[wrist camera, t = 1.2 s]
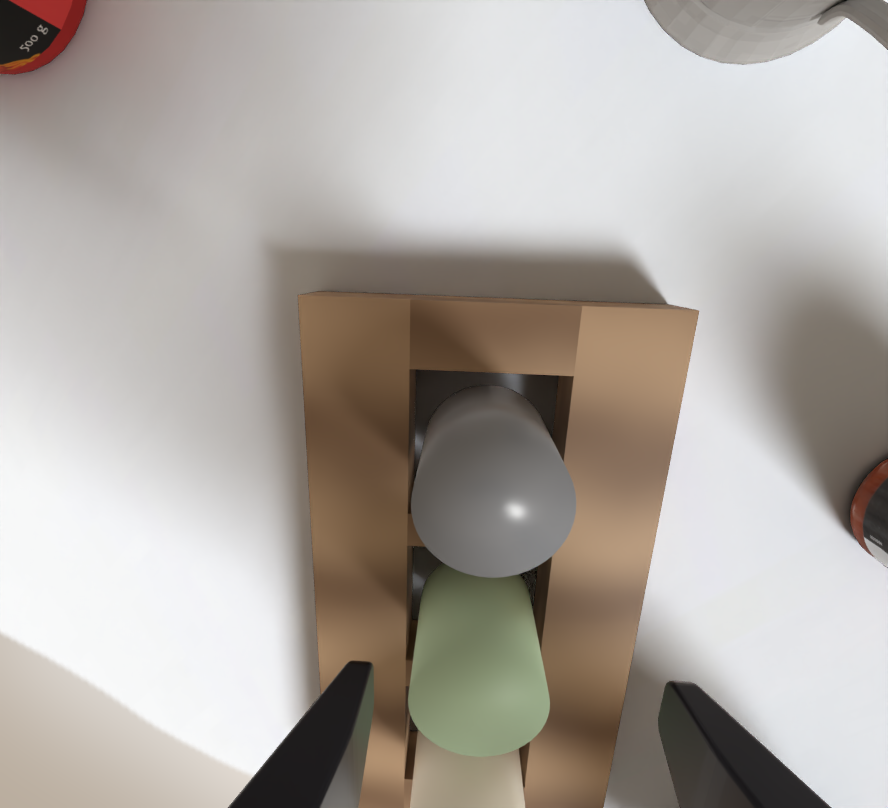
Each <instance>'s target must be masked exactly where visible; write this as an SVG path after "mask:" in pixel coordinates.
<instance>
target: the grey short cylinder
mask: <svg viewBox="0 0 888 808" xmlns="http://www.w3.org/2000/svg"><path fill="white" fill-rule="evenodd" d="M411 513H412V518H413V523H414V526H415V528H416V531H417V533H418V535H419V537H420V539H421V540H422V542H423V543H424V545H425V546H426V548H427V549H428V550H429V551H430V552H431V553H432V554H433V555H434V556H435V557H437V558H438V559H439V560H440V561H441V562H443V563H445V564H446V565H448V566H449V567H451V568H453V569H455V570H457V571H460V572H463V573H466V574H469V575H474V576H478V577H487V578H499V577H508V576H513V575H517V574H521V573H523V572H526V571H529V570H531V569H533V568H535V567H537V566H539V565H540V564H542V563H543V562H545V561H546V560H548V559H549V558H550V557H551V556H553V555H554V554H555V553H556V551H557V550H558V549H559V548H560V547H561V546H562V544H563V543H564V542H565V540H566V539H567V537H568V535H569V533H570V531H571V528H572V526H573V523H574V519H575V514H576V493H575V489H574V485H573V482H572V479H571V477H570V474H569V472H568V470H567V468H566V466H565V464H564V462H563V460H562V458H561V456H560V454H559V452H558V450H557V448H556V446H555V444H554V442H553V440H552V438H551V436H550V434H549V432H548V430H547V428H546V426H545V424H544V422H543V420H542V417H541V416H540V414H539V412H538V411H537V409H536V408H535V407H534V406H533V405H532V404H531V403H530V402H529V401H528V400H527V399H526V398H525V397H523V396H522V395H520V394H519V393H517V392H515V391H513V390H510V389H508V388H504V387H500V386H494V385H479V386H473V387H469V388H465V389H463V390H461V391H458V392H456V393H455V394H453V395H451V396H450V397H448V398H447V399H446V400H445V401H443V402H442V403H441V404H440V405H439V407H438V408H437V409H436V411H435V412H434V413H433V415H432V417H431V419H430V421H429V424H428V426H427V430H426V435H425V439H424V443H423V448H422V452H421V456H420V461H419V465H418V469H417V474H416V478H415V482H414V487H413V491H412V497H411Z"/></svg>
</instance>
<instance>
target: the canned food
mask: <svg viewBox="0 0 888 808" xmlns="http://www.w3.org/2000/svg"><path fill="white" fill-rule="evenodd" d="M86 1H87V0H0V74H19V73H24V72H29V71H33V70H35V69H37V68H39V67H42V66H44V65H46V64H48V63H49V62H51V61H52V60H53V59H54V58H55V57H56V56H58V55H59V54H60V53H61V52H62V51H63V50H64V49H65V47H66V46H67V45H68V43H69V42H70V40H71V39H72V38H73V36H74V35H75V33H76V30H77V28H78V26H79V24H80V21H81V19H82V17H83V14H84V10H85V5H86Z"/></svg>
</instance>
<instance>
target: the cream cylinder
mask: <svg viewBox="0 0 888 808" xmlns="http://www.w3.org/2000/svg"><path fill="white" fill-rule="evenodd" d="M410 808H525V801H524V792H523V783H522V774H521V765H520V756H519V748H518V749H516V750H514V751H511V752H508V753H505V754H501V755H496V756H486V757H475V756H466V755H461V754H457V753H454V752H451V751H448V750H446V749H443V748H441V747H439V746H438V745H436V744H434V743H433V742H431V741H430V740H429V739H427V738H426V737H425V736H424V735H423V734H422V733H421V732H420V730H419V729H418V733H417V743H416V753H415V763H414V772H413V782H412V792H411V802H410Z"/></svg>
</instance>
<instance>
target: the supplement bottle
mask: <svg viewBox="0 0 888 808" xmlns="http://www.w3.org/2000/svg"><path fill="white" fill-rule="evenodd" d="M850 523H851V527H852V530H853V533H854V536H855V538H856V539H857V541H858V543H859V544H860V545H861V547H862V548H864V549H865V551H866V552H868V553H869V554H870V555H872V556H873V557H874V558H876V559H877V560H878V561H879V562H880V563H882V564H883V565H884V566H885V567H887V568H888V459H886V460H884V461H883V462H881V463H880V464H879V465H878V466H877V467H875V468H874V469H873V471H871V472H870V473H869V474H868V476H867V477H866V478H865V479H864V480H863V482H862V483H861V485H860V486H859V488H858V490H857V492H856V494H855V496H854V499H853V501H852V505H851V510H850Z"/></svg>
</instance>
